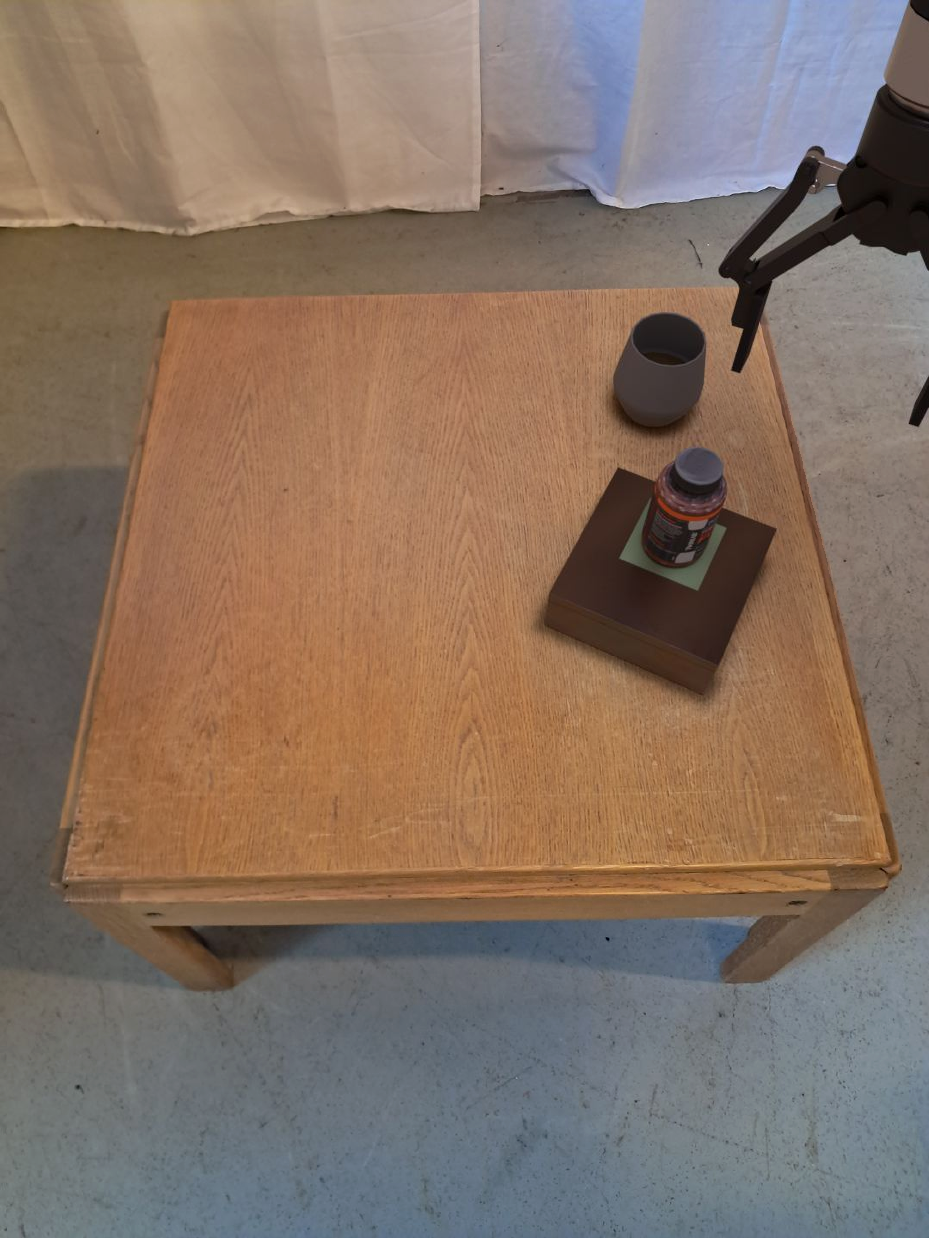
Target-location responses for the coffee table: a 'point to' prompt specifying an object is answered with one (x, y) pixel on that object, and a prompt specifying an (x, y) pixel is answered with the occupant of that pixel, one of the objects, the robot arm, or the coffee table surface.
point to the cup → (661, 369)
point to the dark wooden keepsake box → (656, 588)
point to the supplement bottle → (684, 507)
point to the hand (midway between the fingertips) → (825, 388)
